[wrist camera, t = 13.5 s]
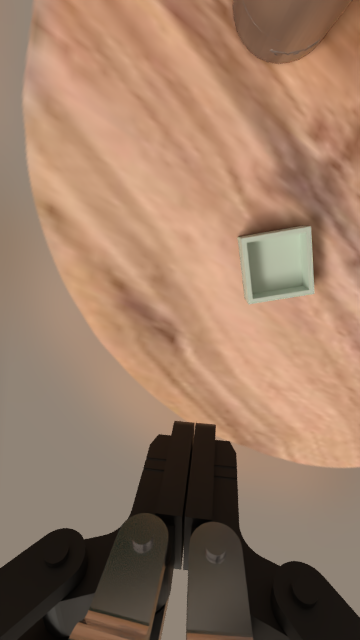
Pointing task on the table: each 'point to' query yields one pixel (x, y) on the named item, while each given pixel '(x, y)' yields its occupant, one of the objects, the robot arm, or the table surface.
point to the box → (277, 264)
